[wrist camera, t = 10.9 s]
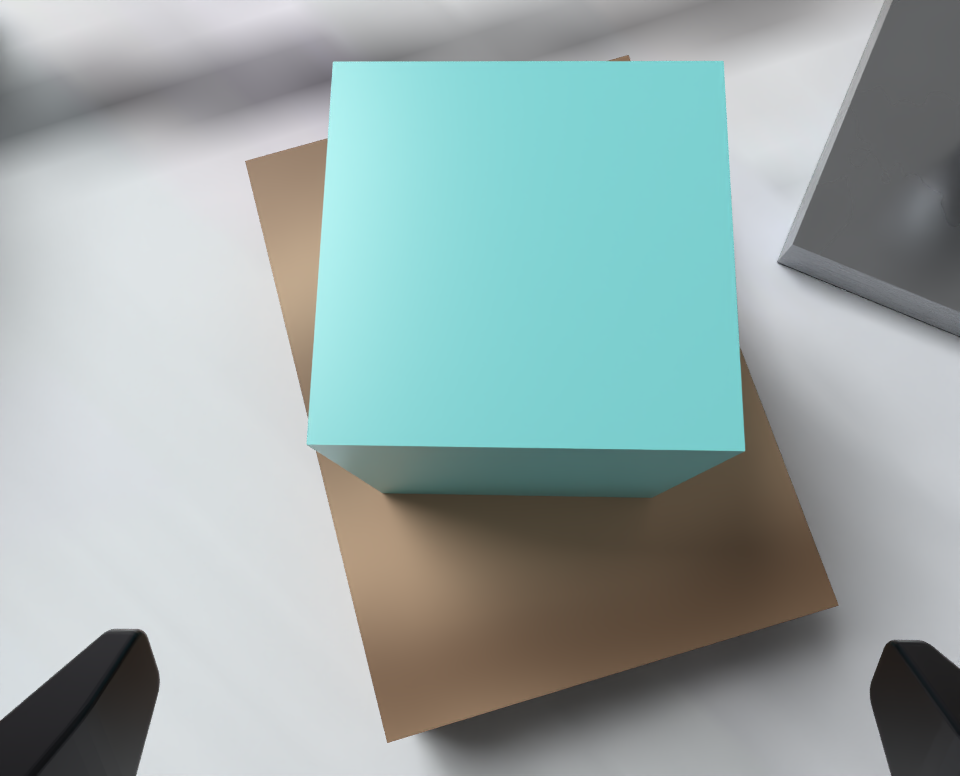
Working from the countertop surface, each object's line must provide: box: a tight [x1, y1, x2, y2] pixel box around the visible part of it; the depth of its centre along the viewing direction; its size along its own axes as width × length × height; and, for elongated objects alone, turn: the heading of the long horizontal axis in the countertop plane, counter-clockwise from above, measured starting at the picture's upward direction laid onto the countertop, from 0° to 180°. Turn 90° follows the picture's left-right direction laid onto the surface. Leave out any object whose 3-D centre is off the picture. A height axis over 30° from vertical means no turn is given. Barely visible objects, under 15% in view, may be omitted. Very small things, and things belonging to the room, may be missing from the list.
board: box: [245, 55, 838, 743], centre depth 20 cm, size 14×10×3 cm
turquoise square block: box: [307, 61, 745, 498], centre depth 15 cm, size 6×6×7 cm
